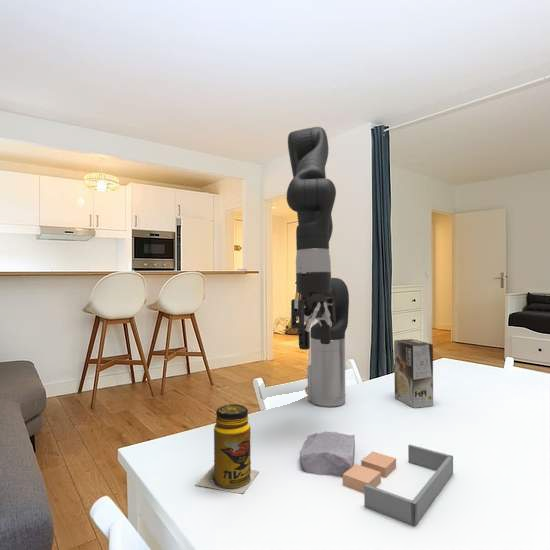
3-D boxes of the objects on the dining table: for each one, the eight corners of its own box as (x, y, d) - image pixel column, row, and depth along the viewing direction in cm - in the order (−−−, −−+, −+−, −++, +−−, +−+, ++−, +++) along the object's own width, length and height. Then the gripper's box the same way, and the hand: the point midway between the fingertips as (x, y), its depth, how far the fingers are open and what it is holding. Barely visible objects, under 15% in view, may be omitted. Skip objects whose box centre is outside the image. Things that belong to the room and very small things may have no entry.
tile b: (361, 471, 70) (361, 460, 70) (372, 462, 73) (372, 451, 73) (385, 480, 67) (385, 468, 67) (396, 469, 70) (396, 458, 70)
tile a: (342, 486, 65) (342, 474, 65) (356, 475, 68) (356, 463, 68) (368, 496, 62) (368, 483, 62) (380, 484, 65) (380, 472, 65)
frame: (364, 506, 58) (364, 485, 58) (409, 460, 73) (409, 444, 73) (415, 526, 54) (415, 504, 54) (453, 473, 68) (452, 455, 68)
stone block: (300, 484, 68) (358, 478, 66) (294, 456, 69) (352, 449, 67) (308, 456, 80) (358, 450, 78) (304, 432, 80) (353, 425, 78)
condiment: (243, 494, 62) (242, 417, 62) (194, 486, 64) (194, 412, 64) (259, 472, 69) (258, 403, 69) (214, 465, 71) (214, 398, 71)
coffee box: (434, 406, 103) (434, 344, 103) (413, 408, 101) (413, 345, 101) (413, 395, 112) (412, 338, 112) (393, 397, 110) (392, 339, 110)
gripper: (315, 272, 94) (317, 341, 93) (279, 271, 82) (281, 349, 82) (344, 271, 89) (346, 343, 89) (310, 269, 78) (312, 352, 77)
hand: (315, 346), depth 85 cm, fingers open, 8 cm apart
